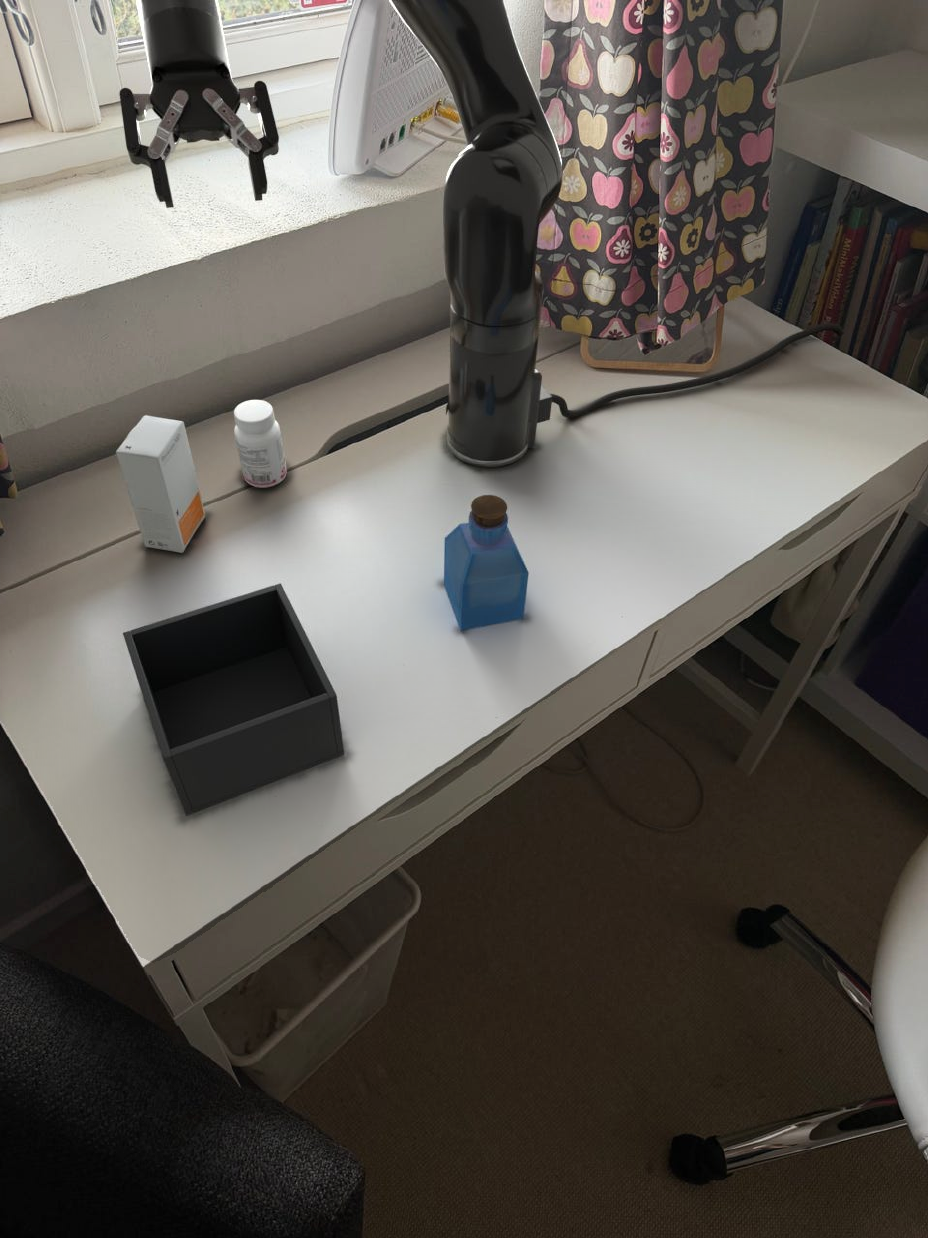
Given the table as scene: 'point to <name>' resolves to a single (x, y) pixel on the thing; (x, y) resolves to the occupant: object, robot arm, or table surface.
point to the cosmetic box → (162, 483)
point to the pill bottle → (259, 444)
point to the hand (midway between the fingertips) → (214, 200)
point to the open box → (235, 696)
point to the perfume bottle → (484, 567)
